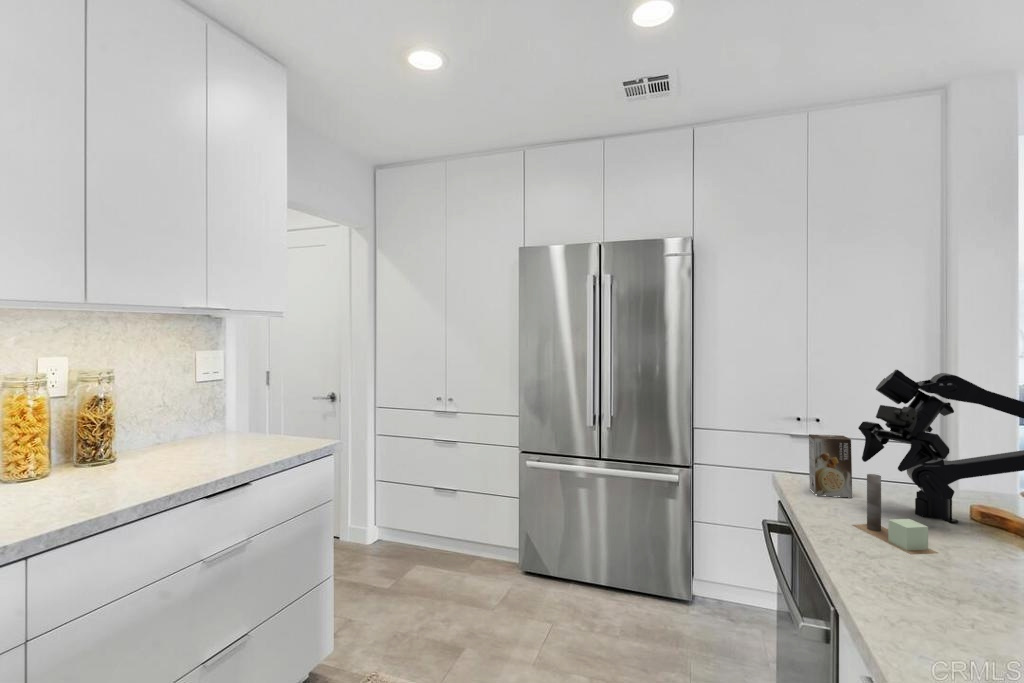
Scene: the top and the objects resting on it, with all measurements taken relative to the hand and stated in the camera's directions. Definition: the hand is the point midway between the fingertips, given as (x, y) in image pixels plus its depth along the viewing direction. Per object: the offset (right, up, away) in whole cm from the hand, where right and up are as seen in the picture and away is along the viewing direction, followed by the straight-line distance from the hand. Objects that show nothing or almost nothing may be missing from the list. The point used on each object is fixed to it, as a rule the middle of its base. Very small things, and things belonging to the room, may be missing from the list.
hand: (880, 465), depth 122 cm
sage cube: (-5, -13, -15) cm, 21 cm away
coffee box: (+2, -14, +22) cm, 26 cm away
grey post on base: (-6, -14, -11) cm, 19 cm away
